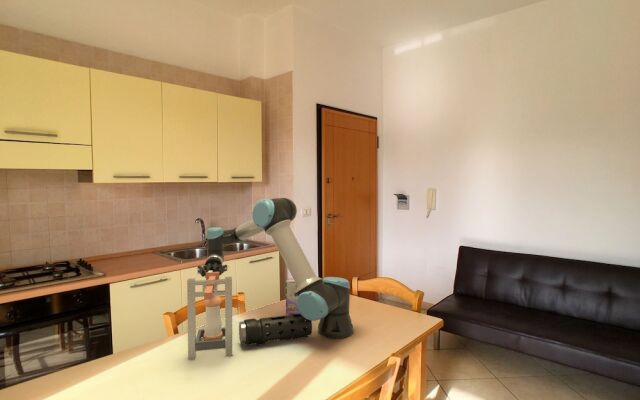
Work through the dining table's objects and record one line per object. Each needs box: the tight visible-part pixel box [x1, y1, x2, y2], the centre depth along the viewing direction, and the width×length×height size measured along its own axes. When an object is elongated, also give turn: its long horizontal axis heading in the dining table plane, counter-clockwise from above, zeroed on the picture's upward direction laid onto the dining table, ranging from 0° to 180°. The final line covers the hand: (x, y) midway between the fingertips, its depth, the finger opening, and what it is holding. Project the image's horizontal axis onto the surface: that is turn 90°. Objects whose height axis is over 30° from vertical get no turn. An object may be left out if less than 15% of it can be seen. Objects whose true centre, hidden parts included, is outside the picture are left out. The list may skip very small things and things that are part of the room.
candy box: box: [285, 277, 300, 315], centre depth 177 cm, size 14×6×16 cm, turn 77°
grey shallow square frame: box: [196, 327, 225, 351], centre depth 145 cm, size 12×12×3 cm
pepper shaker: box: [203, 296, 223, 341], centre depth 145 cm, size 7×7×19 cm
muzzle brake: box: [238, 314, 313, 346], centre depth 146 cm, size 10×28×10 cm, turn 110°
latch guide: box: [186, 276, 233, 361], centre depth 133 cm, size 2×15×29 cm, turn 102°
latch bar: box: [203, 272, 220, 301], centre depth 134 cm, size 22×5×5 cm, turn 12°
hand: (209, 278), depth 145 cm, fingers closed
